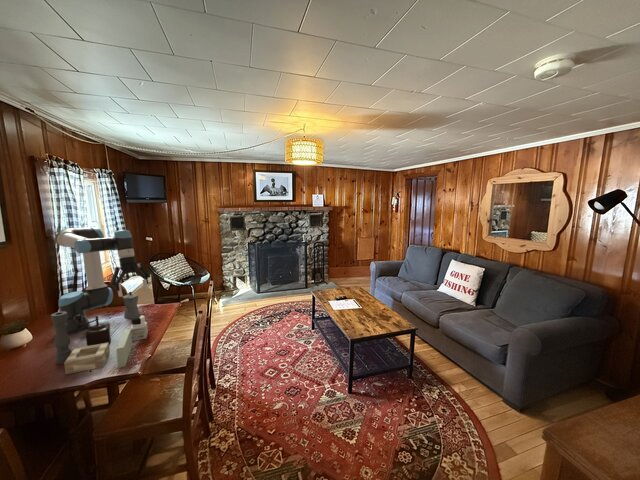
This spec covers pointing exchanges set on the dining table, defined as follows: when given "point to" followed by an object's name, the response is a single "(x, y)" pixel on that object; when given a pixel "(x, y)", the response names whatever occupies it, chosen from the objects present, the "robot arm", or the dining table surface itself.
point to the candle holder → (61, 337)
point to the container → (139, 328)
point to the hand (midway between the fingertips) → (134, 293)
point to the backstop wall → (124, 348)
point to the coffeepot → (131, 305)
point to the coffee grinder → (95, 332)
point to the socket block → (87, 358)
